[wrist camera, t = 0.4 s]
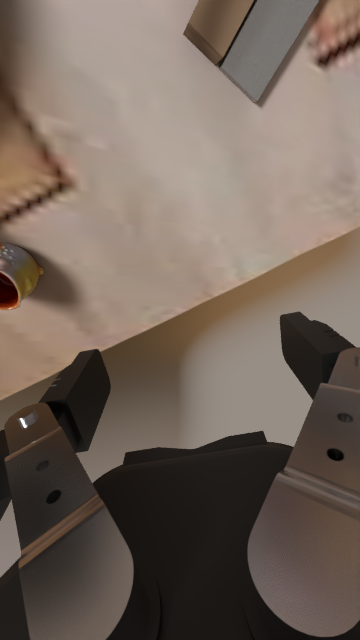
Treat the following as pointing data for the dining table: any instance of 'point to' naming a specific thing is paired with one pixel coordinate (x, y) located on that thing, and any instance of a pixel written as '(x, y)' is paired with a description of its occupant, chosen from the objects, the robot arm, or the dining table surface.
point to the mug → (16, 275)
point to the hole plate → (264, 43)
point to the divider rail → (216, 25)
